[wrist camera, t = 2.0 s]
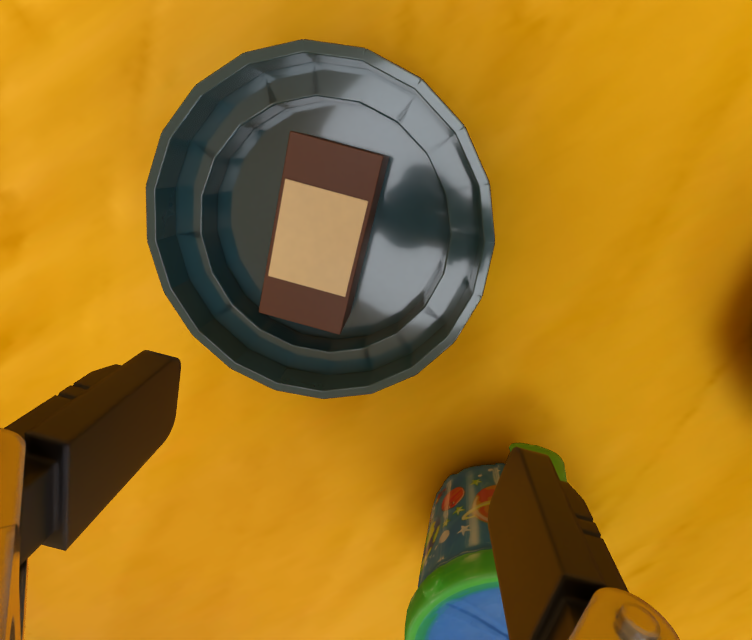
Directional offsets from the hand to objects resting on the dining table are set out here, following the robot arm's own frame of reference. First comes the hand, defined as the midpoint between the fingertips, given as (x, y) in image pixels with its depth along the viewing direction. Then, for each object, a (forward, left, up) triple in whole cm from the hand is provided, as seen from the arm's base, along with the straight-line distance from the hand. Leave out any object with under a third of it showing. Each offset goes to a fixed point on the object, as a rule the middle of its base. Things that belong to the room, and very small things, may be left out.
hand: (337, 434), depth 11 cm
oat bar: (+1, -4, -16) cm, 17 cm away
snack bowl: (+1, -4, -17) cm, 17 cm away
